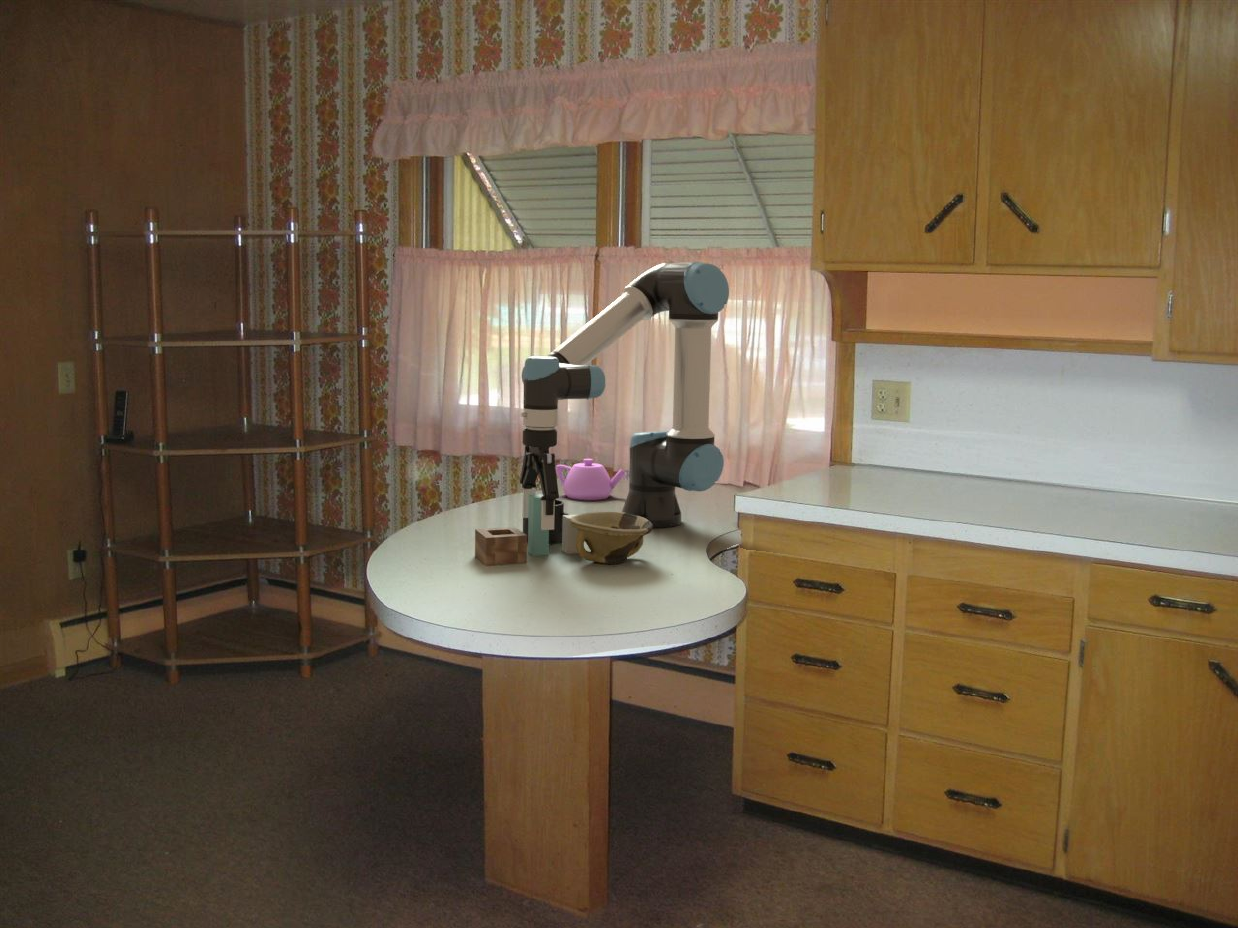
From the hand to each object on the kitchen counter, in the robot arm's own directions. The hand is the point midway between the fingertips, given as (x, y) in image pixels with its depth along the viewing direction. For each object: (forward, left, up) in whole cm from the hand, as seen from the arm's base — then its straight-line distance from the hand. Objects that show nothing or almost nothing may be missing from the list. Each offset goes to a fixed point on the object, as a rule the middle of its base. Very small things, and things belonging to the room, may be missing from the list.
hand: (537, 523), depth 266 cm
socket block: (+9, +3, -7) cm, 12 cm away
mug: (-6, -12, -7) cm, 15 cm away
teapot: (-36, -62, -7) cm, 72 cm away
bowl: (-13, +11, -7) cm, 19 cm away
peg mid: (-8, 0, -7) cm, 11 cm away
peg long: (0, 0, -7) cm, 7 cm away
